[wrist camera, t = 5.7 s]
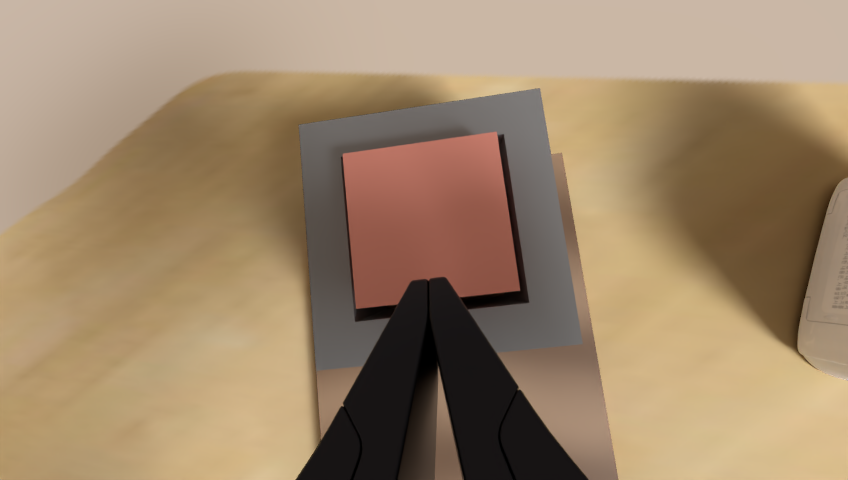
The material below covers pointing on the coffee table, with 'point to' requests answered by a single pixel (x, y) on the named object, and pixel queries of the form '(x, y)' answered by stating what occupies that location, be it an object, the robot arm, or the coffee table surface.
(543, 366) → the board
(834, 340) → the photo printer
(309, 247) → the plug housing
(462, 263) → the plug
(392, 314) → the robot arm
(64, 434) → the coffee table surface
